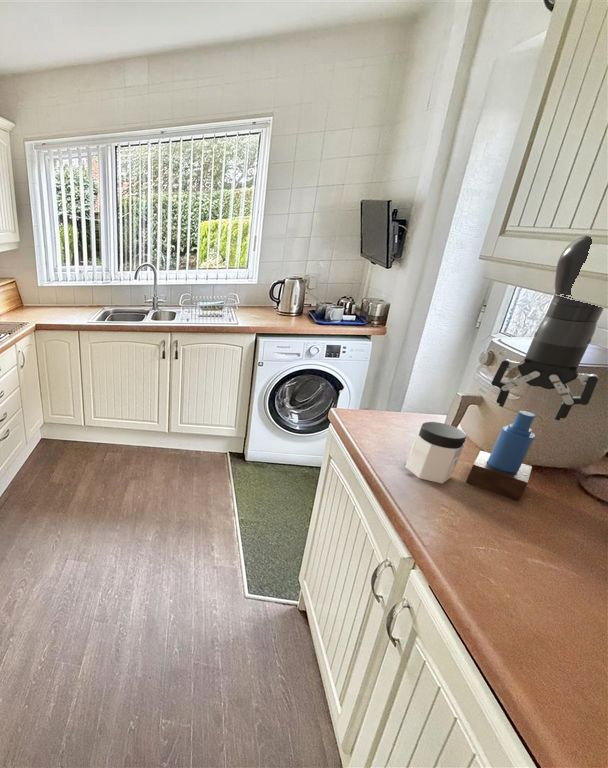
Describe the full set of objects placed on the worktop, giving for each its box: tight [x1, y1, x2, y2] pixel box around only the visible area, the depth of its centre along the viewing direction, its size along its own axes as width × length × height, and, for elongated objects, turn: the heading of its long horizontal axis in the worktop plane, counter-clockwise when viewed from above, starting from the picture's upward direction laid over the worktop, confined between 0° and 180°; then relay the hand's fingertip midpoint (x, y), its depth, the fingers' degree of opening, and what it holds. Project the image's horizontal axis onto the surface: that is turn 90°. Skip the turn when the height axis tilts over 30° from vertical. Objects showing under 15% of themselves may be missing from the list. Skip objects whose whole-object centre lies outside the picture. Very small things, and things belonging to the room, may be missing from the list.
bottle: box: [488, 410, 536, 472], centre depth 89 cm, size 5×5×14 cm
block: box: [465, 450, 533, 502], centre depth 93 cm, size 9×9×5 cm
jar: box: [405, 421, 467, 485], centre depth 96 cm, size 9×8×12 cm
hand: (528, 412), depth 87 cm, fingers open, 8 cm apart
